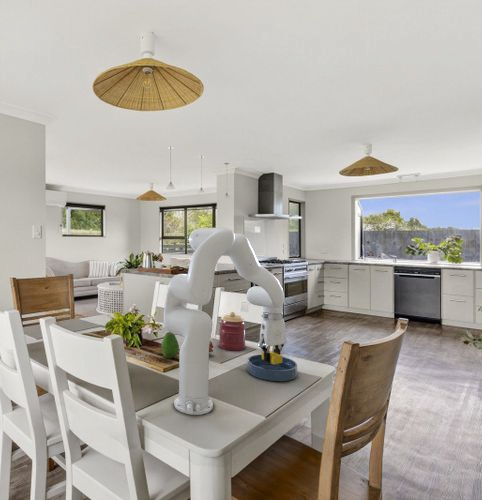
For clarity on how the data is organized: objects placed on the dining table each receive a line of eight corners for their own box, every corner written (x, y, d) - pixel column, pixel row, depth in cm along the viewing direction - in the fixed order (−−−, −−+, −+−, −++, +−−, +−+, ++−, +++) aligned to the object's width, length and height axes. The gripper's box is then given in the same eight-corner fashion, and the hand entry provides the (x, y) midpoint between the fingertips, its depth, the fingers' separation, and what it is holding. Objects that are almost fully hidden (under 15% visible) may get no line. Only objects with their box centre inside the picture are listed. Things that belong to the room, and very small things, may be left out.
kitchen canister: (218, 350, 175) (219, 314, 174) (218, 342, 188) (219, 308, 187) (246, 351, 173) (247, 315, 172) (244, 343, 186) (245, 309, 185)
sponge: (282, 363, 144) (282, 355, 144) (273, 364, 142) (273, 357, 142) (270, 357, 151) (270, 350, 150) (261, 359, 149) (261, 351, 149)
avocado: (159, 360, 160) (159, 333, 160) (163, 354, 168) (163, 329, 167) (177, 361, 158) (177, 334, 158) (180, 356, 166) (180, 330, 166)
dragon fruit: (212, 355, 172) (197, 366, 163) (199, 342, 175) (184, 352, 167) (220, 344, 167) (206, 354, 158) (207, 331, 171) (192, 340, 162)
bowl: (303, 383, 136) (303, 371, 136) (251, 381, 138) (251, 369, 138) (289, 365, 155) (289, 355, 155) (244, 363, 157) (244, 353, 157)
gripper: (262, 320, 139) (261, 366, 139) (295, 316, 146) (294, 360, 147) (250, 316, 146) (249, 360, 146) (281, 312, 153) (280, 355, 153)
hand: (271, 360), depth 146 cm, fingers closed on sponge, 4 cm apart
